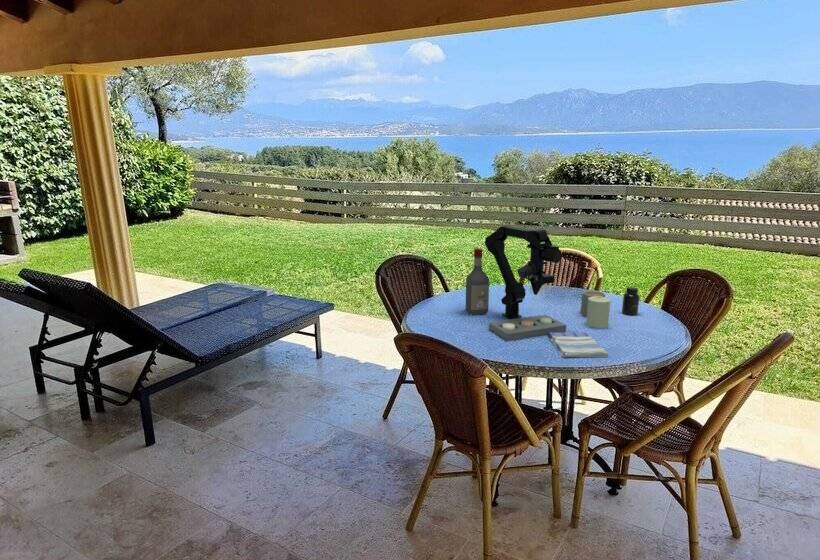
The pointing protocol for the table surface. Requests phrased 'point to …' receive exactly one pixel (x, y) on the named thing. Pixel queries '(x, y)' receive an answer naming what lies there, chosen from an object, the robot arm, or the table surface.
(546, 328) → the button panel
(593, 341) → the dish towel
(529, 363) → the table surface
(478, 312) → the liquor
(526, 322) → the terracotta button
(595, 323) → the sage green canister
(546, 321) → the sage button
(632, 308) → the supplement bottle
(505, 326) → the cream button
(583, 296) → the coffee mug
